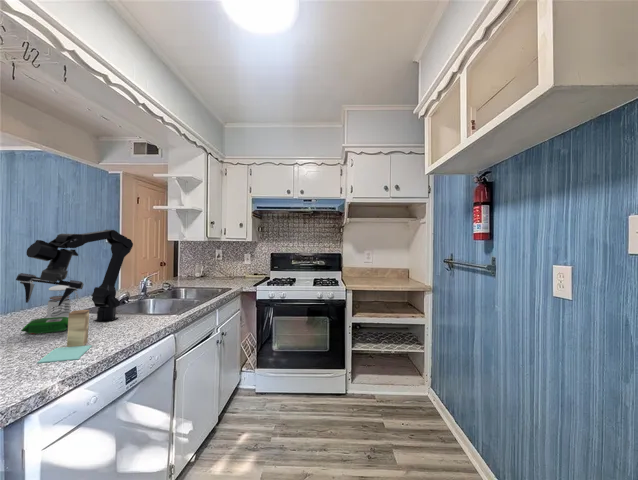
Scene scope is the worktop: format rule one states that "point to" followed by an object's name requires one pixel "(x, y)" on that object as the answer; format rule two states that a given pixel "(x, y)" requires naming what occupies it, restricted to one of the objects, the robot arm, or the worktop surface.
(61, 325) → the snack package
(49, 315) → the french press
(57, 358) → the rubber mat
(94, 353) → the worktop surface
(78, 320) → the maple block
